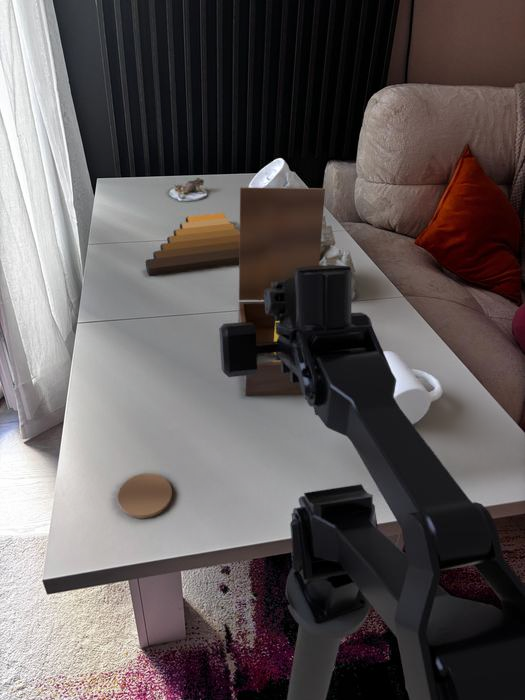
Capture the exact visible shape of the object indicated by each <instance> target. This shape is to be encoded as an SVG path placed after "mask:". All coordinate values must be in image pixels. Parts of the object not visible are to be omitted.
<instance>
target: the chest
mask: <svg viewBox="0 0 525 700" xmlns="http://www.w3.org/2000/svg"><path fill="white" fill-rule="evenodd" d="M237 319H238V322H237V323H239V322H251V321H252V322H253V324H254V327H255V332H256V343H263V342H274V332H275V317H274V316H273V315H267V314H266V311H265V303H264V301H239V302H238V318H237ZM264 354H265V356H266V353H264ZM269 354H270V353H268V355H269ZM271 354H273V353H271ZM258 355H259V356H260V354H258ZM262 356H263V354H262ZM242 377H243V386H244V395H245V396H246V397H248V396H250V397H251V396H252V397H253V396H287V395H303V393H302V390H301V386H300V382H295V383H292V382H291V380H290V372H288V373H283V372H282V371H281V362H272V361H270V362H260V363H257V373H256V374H255V375H245V376H242Z"/></svg>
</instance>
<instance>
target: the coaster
mask: <svg viewBox="0 0 525 700" xmlns="http://www.w3.org/2000/svg"><path fill="white" fill-rule="evenodd" d="M172 499H173V489H172V485H171V484H170V482H169V481H168V479H166V478H165V477H164V476H161V474H160V475H159V474H156V473H150V472H149V473H147V472H146V473H141V474H136V475H134V476H132V477H130V478H128V479H127V480H126V481H125V482H124V483H123V484H122V485H121V487H120V488H119V490H118V493H117V503H118V506H119V508H120V510H121V511H122V512H123V513H124V514H125V515H127V516H129V517H132V518H135V519H148V518H152V517H155V516H157V515H159V514H161V513H162V512H164V511H165V510H166V509H167V508H168V507H169V506H170V504H171V501H172Z"/></svg>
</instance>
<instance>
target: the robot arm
mask: <svg viewBox="0 0 525 700" xmlns="http://www.w3.org/2000/svg"><path fill="white" fill-rule="evenodd" d="M263 302H264V303H265V311H266V314H267V315H273V316H274V317H275V321H279V322H276V334H278V335H279V337H278V339H277V341H274V342H263V343H256V332H255V327H254V324H253V322H252V321H251V322H239V323H238V322H230V323H229V322H227V323H223V324H222V325H221V326H220V327H219V328H218V330H219V348H220V367H221V370H222V372H223V374H225V375H226V376H227V377H228V378H235V377H243V376H245V375H255V374H256V373H257V363H260V362H270V361H280V360H281V371H282V372H283V373H288V372H290V380H291V382H292V383H295V382H300V386H301V390H302V393H303V394H302V396H304V400H305V401H306V402H307V404H308V405H309V407H312V408H313V411H314V415H315V416H317V417H318V418H319V419H320V420H321V422H322V423H323V424H324V426H325V427H326V428H327V429H329V430H330V431H331V430H332V431H333V432H335V433H338V434H340V435H342V436H345V437H347V438H348V440H349V441H350V442H351V444H352V446H353V448H354V449H355V451H356V453H357V454H358V456H359V458H360V459H361V461H362V463H363V465H364V466H365V468H366V469H367V472H368V473H369V475H370V477H371V479H372V480H373V482H374V483H375V485H376V487H377V489H378V490H379V492H380V494H381V496H382V497H383V499H384V501H385V502H386V504H387V506H388V508H389V510H390V511H391V513H392V515H393V517H394V518H395V520H396V521H397V523H398V525H399V527H400V528H401V534H402V542H403V547H404V551H403V550H402V549H401V548H399V547H398V546H397V545H396V544H395V543H394V542H393V541H392V540H391V539H390V538H389V537H388V536H387V535H386V534H385V533H383V532H382V530H381V529H379V525H378V519H377V513H376V506H375V504H374V495H373V494H371V493H369V492H368V491H367V490H366V489H365V488H364V486H363V484H362V483H360V484H354V485H347V486H340V487H334V488H328V489H322V490H315V491H308V492H307V491H306V492H303V494H304V495H301V496H299V498H298V504H299V507H294V508H293V509H292V513H291V522H290V523H289V528H290V537H291V538H290V539H291V548H292V560H291V566H292V568H293V569H294V570H296V571H295V572H294V575H293V577H294V579H295V581H296V584H297V586H298V588H299V590H300V593H301V595H302V597H303V599H304V601H305V604H306V606H307V608H308V610H309V612H310V615H311V617H312V619H313V621H314V622H315V623H317V624H319V623H322V622H325V621H328V620H330V619H333V618H336V617H339V616H342V615H344V614H347V613H350V612H353V611H356V610H358V609H361V608H364V607H365V605H366V601H365V599H364V597H363V595H364V596H365V597H366V599H367V600H368V601H369V602H370V604H371V605H370V606H372V608H373V609H374V611H375V612H376V613H377V614H378V616H379V617H380V618H381V620H383V622H384V623H385V624H386V626H387V627H388V628H389V630H390V631H391V633H393V635H394V636H395V637H396V639H397V644H398V649H399V655H400V661H401V666H402V672H403V677H404V684H405V685H404V686H405V690H406V691H407V694H408V699H409V700H525V583H524V582H523V581H522V580H521V578H520V577H519V576H518V574H517V573H516V572H515V571H514V570H513V568H512V567H511V565H510V564H509V563H508V562H507V561H506V559H505V556H504V553H503V549H502V545H501V541H500V537H499V533H498V529H497V525H496V523H495V520H494V518H493V516H492V514H491V512H490V511H489V510H488V509H487V508H486V507H485V506H484V505H483V504H482V503H479V502H476V501H474V502H473V501H472V500H471V499H470V498H469V496H468V495H467V494H466V493H465V491H464V490H463V489H462V487H461V486H460V484H459V483H458V482H457V481H456V480H455V478H454V477H453V476H452V474H451V473H450V472H449V471H448V469H447V468H446V467H445V465H444V464H443V463H442V461H441V460H440V458H439V457H438V456H437V455H436V453H435V452H434V451H433V449H432V448H431V447H430V445H429V444H428V443H427V441H426V440H425V439H424V437H423V436H422V434H420V432H419V431H418V429H417V428H416V427H415V426H414V424H412V423H411V422H410V421H409V419H408V418H407V417H406V415H405V414H404V413H403V411H402V410H401V409H400V407H399V406H398V404H397V402H396V400H395V399H394V392H395V386H396V378H395V376H394V375H393V373H392V371H391V369H390V366H389V364H388V362H387V359H386V357H385V355H384V352H383V351H384V350H383V348H382V345H381V343H380V341H379V338H378V336H377V335H376V332H375V329H374V327H373V323H372V320H371V318H370V316H369V315H367V314H366V313H363V312H352V300H351V267H349V266H340V265H321V266H306V267H299V268H295V277H293V278H287V279H286V280H285V281H281V282H271V288H269V289H266V290H265V291H264V300H263ZM275 352H276V354H274V353H275ZM264 353H266V356H265V354H264ZM268 353H270V354H269V355H268ZM271 353H273V354H271ZM258 354H260V356H259V355H258ZM262 354H263V356H262ZM468 566H474V568H475V569H476V571H477V572H478V573H479V574H480V575H481V577H482V578H483V579H484V580H485V582H486V584H488V586H489V587H490V588H491V589H492V591H493V592H494V593H495V595H496V596H497V597H498V599H499V600H500V602H501V607H502V610H501V609H499V608H498V607H496V606H494V605H492V604H488V603H484V602H479V601H474V600H470V599H465V598H461V597H456V596H453V595H450V594H449V593H448V592H447V591H445V590H444V589H443V588H442V586H440V585H439V583H440V579H441V571H446V570H452V569H458V568H462V567H468ZM296 574H298V575H300V576H296ZM359 589H360V590H359ZM360 591H361V592H362V593H363V595H362V593H361V592H360ZM360 602H362V603H363V604H360ZM316 617H319V620H317V619H316Z"/></svg>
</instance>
